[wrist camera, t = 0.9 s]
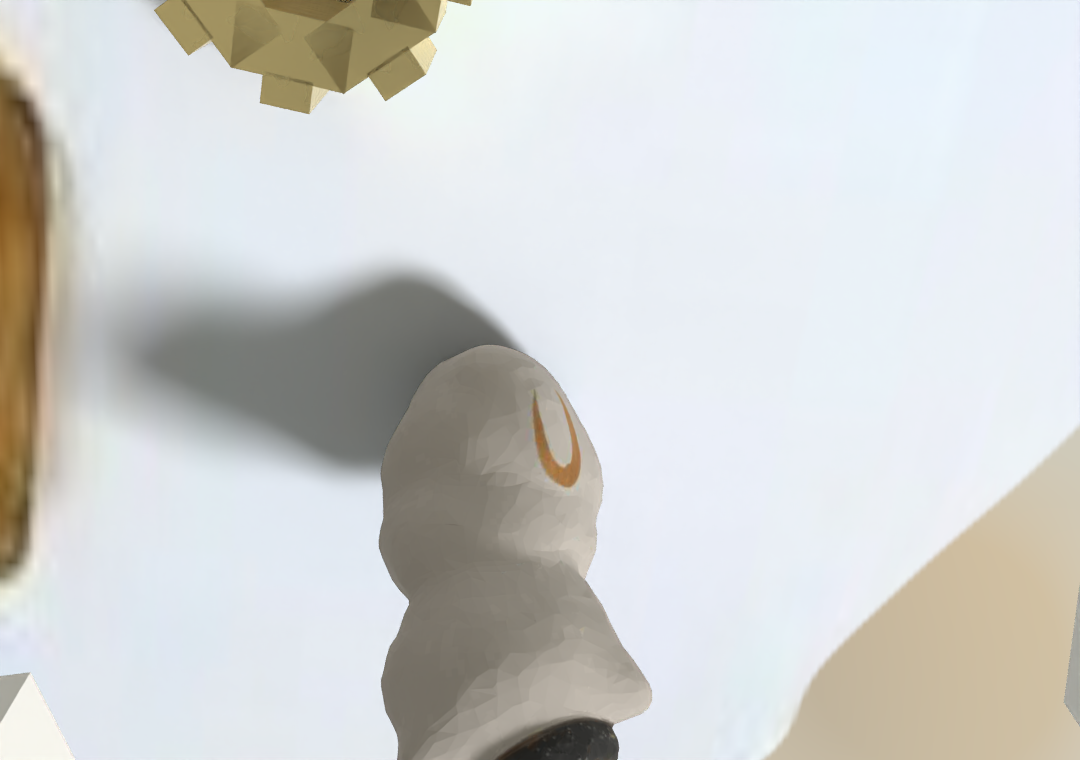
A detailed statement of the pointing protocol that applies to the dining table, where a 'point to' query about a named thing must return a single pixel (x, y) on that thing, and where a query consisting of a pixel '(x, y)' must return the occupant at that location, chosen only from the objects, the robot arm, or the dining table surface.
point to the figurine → (499, 572)
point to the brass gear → (313, 42)
